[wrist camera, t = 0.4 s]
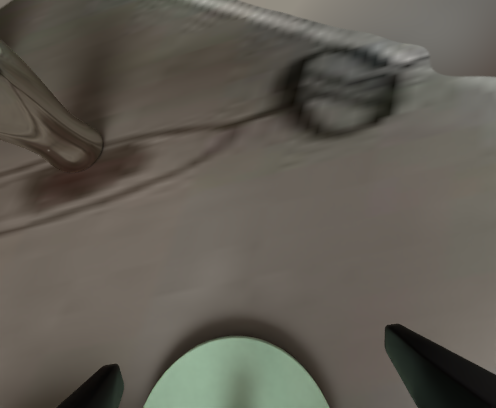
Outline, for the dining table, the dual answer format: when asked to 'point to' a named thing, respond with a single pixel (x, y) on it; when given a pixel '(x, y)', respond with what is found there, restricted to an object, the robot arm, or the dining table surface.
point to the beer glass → (42, 118)
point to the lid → (236, 378)
